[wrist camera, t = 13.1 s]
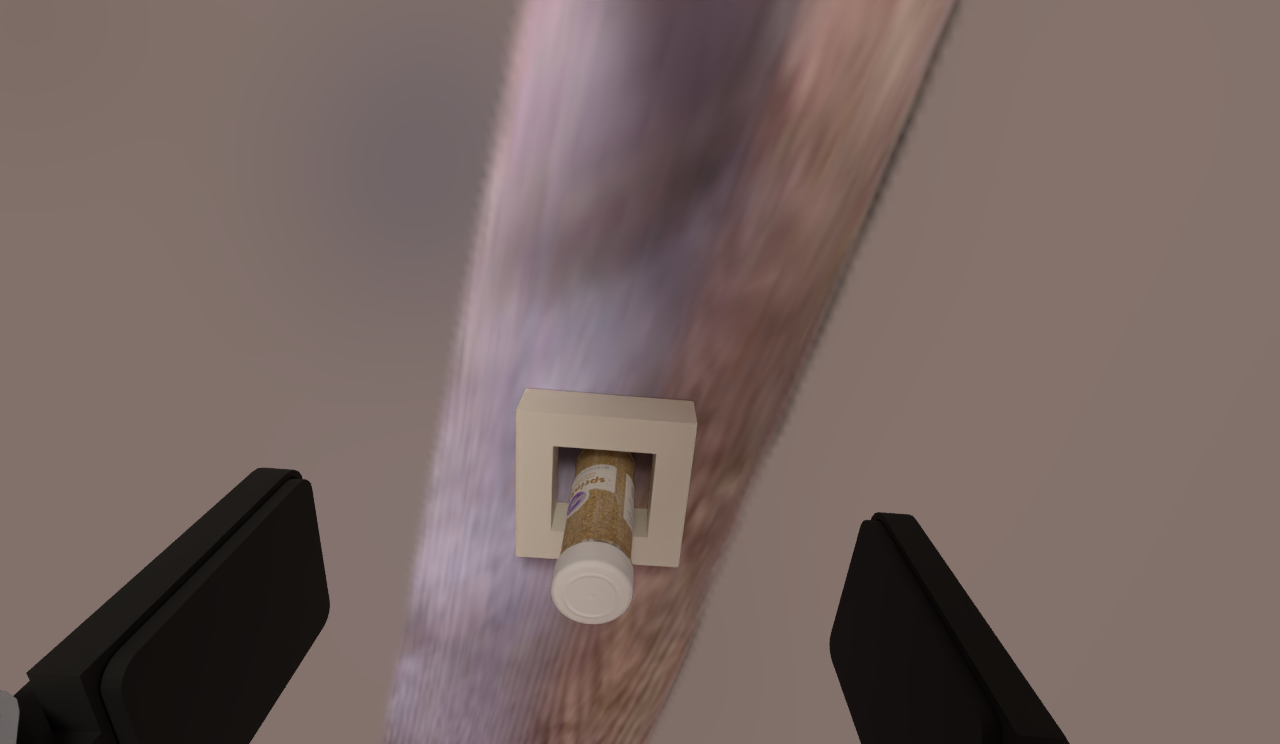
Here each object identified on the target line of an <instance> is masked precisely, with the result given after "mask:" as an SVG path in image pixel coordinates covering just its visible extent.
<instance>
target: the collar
mask: <svg viewBox="0 0 1280 744" xmlns="http://www.w3.org/2000/svg"><path fill="white" fill-rule="evenodd" d="M697 425H698V424H697V418H696V412H695V407H694V401H685V400H672V399H659V398H646V397H633V396H620V395H607V394H594V393H581V392H568V391H555V390H542V389H529V388H526V389H525V391H524V393H523V396H522V398H521V400H520V402H519V405H518V407H517V409H516V556H520V557H534V558H549V559H558V558H559V556H560V553H561V547H562V542H563V537H564V530H565V525H566V517H567V510H568V505H569V503H561V502H557V492H558V463H559V447H571V448H585V449H598V450H612V451H625V452H638V453H652V454H653V458H652V468H651V477H650V487H649V497H648V506H647V509H644V508H634V521H633V541H632V550H631V562H632V564H635V565H650V566H664V567H678V565H679V558H680V551H681V543H682V536H683V528H684V521H685V514H686V506H687V499H688V491H689V484H690V476H691V469H692V462H693V454H694V447H695V439H696V432H697Z"/></svg>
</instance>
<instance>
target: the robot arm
mask: <svg viewBox="0 0 1280 744" xmlns="http://www.w3.org/2000/svg"><path fill="white" fill-rule="evenodd" d="M329 608H330V601H329V594H328V588H327V581H326V575H325V568H324V562H323V556H322V549H321V543H320V536H319V530H318V523H317V517H316V510H315V504H314V498H313V491H312V486H311V483H310V482H309V481H308V480H305V479H302V476H301V474H300V473H299V472H298V471H296V470H289V469H275V468H258V469H256V470H254V471H253V472H252V473H251V474H249V475H248V476H247V477H246V478H245V479H244V480H243V481H242V482H241V483H239V484H238V485H237V486H236V487H235V488H234V489H233V490H232V491H231V492H229V493H228V494H227V495H226V496H225V497H224V498H222V499H221V500H220V501H219V502H218V503H217V504H216V505H215V506H214V507H212V508H211V509H210V510H209V511H208V512H207V513H206V514H205V515H203V516H202V517H201V518H200V519H199V520H198V521H197V522H196V523H194V524H193V525H192V526H191V527H190V528H189V529H188V530H187V531H185V532H184V533H183V534H182V535H181V536H180V537H179V538H178V539H177V540H175V541H174V542H173V543H172V544H171V545H170V546H169V547H167V548H166V549H165V550H164V551H163V552H162V553H161V554H160V555H158V556H157V557H156V558H155V559H154V560H153V561H152V562H151V563H149V564H148V565H147V566H146V567H145V568H144V569H143V570H142V571H141V572H139V573H138V574H137V575H136V576H135V577H134V578H133V579H131V580H130V581H129V582H128V583H127V584H126V585H125V586H124V587H122V588H121V589H120V590H119V591H118V592H117V593H116V594H115V595H113V596H112V597H111V598H110V599H109V600H108V601H107V602H106V603H105V604H103V605H102V606H101V607H100V608H99V609H98V610H97V611H95V612H94V613H93V614H92V615H91V616H90V617H89V618H88V619H86V620H85V621H84V622H83V623H82V624H81V625H80V626H79V627H78V628H76V629H75V630H74V631H73V632H72V633H71V634H70V635H68V636H67V637H66V638H65V639H64V640H63V641H62V642H61V643H60V644H58V645H57V646H56V647H55V648H54V649H53V650H52V651H50V652H49V653H48V654H47V655H46V656H45V657H44V658H43V659H41V660H40V661H39V662H38V663H37V664H36V665H35V666H34V667H33V668H31V669H30V670H29V671H28V672H27V675H28V678H29V680H30V681H29V682H28V683H27V684H26V685H25V686H24V687H23V688H21V690H19V691H18V692H17V693H16V694H15V695H14V696H12V695H10V694H9V693H8V692H6V691H1V690H0V744H249V743H250V741H251V740H252V739H253V737H254V735H255V734H256V732H257V731H258V729H259V728H260V726H261V724H262V723H263V721H264V720H265V718H266V717H267V715H268V713H269V712H270V710H271V709H272V707H273V705H274V704H275V702H276V701H277V699H278V698H279V696H280V694H281V693H282V691H283V690H284V688H285V687H286V685H287V684H288V682H289V680H290V679H291V677H292V676H293V674H294V673H295V671H296V669H297V668H298V666H299V665H300V663H301V662H302V660H303V658H304V657H305V655H306V653H307V652H308V651H309V649H310V647H311V646H312V644H313V643H314V641H315V639H316V638H317V636H318V635H319V633H320V632H321V630H322V628H323V627H324V625H325V623H326V620H327V618H328V614H329ZM830 654H831V659H832V662H833V665H834V668H835V671H836V673H837V676H838V679H839V682H840V685H841V688H842V691H843V693H844V696H845V699H846V702H847V705H848V707H849V710H850V713H851V716H852V719H853V722H854V725H855V727H856V731H857V733H858V736H859V739H860V742H861V744H1069V742H1068V741H1067V739H1066V737H1065V735H1064V734H1063V732H1062V731H1061V729H1060V728H1059V727H1058V725H1057V724H1056V722H1055V721H1054V719H1053V718H1052V716H1051V715H1050V713H1049V712H1048V711H1047V709H1046V708H1045V706H1044V705H1043V703H1042V702H1041V700H1040V699H1039V697H1038V696H1037V695H1036V693H1035V692H1034V690H1033V689H1032V687H1031V686H1030V684H1029V683H1028V681H1027V680H1026V679H1025V677H1024V676H1023V674H1022V673H1021V671H1020V670H1019V669H1018V667H1017V666H1016V664H1015V663H1014V661H1013V660H1012V658H1011V657H1010V655H1009V654H1008V652H1007V651H1006V650H1005V648H1004V647H1003V645H1002V644H1001V642H1000V641H999V639H998V638H997V636H996V635H995V634H994V632H993V631H992V629H991V628H990V626H989V625H988V624H987V622H986V621H985V619H984V618H983V616H982V615H981V613H980V612H979V610H978V609H977V607H976V606H975V605H974V603H973V602H972V600H971V599H970V597H969V596H968V595H967V593H966V591H965V590H964V589H963V587H962V586H961V584H960V583H959V582H958V580H957V578H956V577H955V575H954V574H953V573H952V571H951V570H950V568H949V567H948V565H947V564H946V563H945V561H944V560H943V558H942V557H941V555H940V554H939V552H938V551H937V550H936V548H935V546H934V545H933V544H932V542H931V541H930V539H929V538H928V536H927V535H926V534H925V532H924V531H923V529H922V528H921V526H920V525H919V523H918V522H917V520H916V519H915V518H914V517H913V516H911V515H907V514H895V513H880V512H878V513H875V514H874V515H873V516H872V518H871V520H865V521H863V522H862V524H861V527H860V530H859V533H858V537H857V541H856V544H855V548H854V552H853V555H852V559H851V563H850V566H849V570H848V573H847V577H846V581H845V584H844V588H843V592H842V595H841V599H840V603H839V606H838V610H837V614H836V617H835V621H834V625H833V628H832V632H831V636H830Z"/></svg>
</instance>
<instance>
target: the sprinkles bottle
mask: <svg viewBox="0 0 1280 744" xmlns="http://www.w3.org/2000/svg"><path fill="white" fill-rule="evenodd" d="M634 474H635V461H634V458H633V456H632V454H631V453H630V452H625V451H612V450H598V449H585V448H584V449H583V450H582V451H581V452H580V453H579V455H578V458H577V460H576V473H575V479H574V482H573V484H572V489H571V494H570V499H569V505H568V510H567V517H566V525H565V530H564V537H563V542H562V547H561V553H560V556H559V558H558V559H557V561H556V564H555V567H554V572H553V577H552V583H551V596H552V600H553V602H554V604H555V606H556V607H557V609H558V610H559V611H560V612H561V613H562V614H563V615H565V616H566V617H568V618H569V619H571V620H574V621H576V622H579V623H584V624H602V623H606V622H610V621H612V620H614V619H616V618H618V617H619V616H621V615H622V614H623V613H624V612H625V611H626V610H627V608H628V607H629V605H630V603H631V600H632V596H633V586H634V570H633V565H632V562H631V550H632V541H633V521H634V485H633V478H634Z"/></svg>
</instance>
